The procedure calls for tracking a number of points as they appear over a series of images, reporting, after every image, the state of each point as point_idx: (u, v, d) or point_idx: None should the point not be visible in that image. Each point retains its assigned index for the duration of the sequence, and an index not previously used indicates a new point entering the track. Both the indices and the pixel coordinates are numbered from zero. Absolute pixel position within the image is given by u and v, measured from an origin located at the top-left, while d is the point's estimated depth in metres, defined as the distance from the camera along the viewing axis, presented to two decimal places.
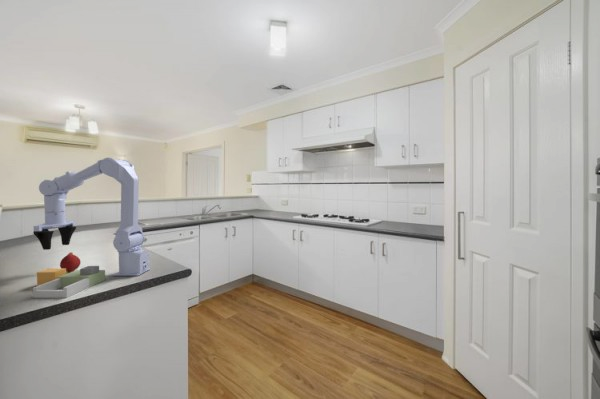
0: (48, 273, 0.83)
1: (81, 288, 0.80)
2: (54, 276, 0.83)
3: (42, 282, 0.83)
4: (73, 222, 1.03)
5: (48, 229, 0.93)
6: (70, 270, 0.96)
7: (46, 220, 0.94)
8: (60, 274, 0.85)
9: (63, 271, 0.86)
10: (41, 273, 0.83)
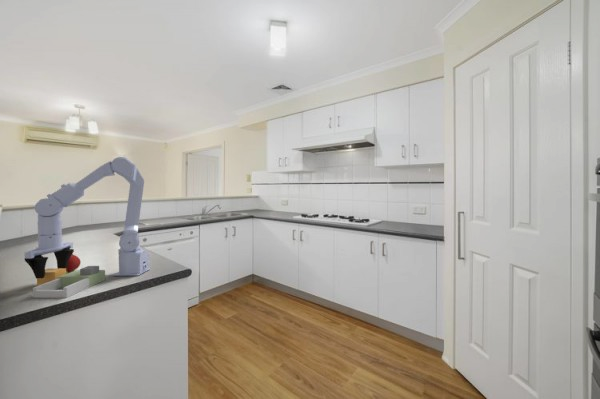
0: (48, 273, 0.83)
1: (81, 288, 0.80)
2: (54, 276, 0.83)
3: (42, 282, 0.83)
4: (71, 244, 0.91)
5: None
6: (70, 270, 0.96)
7: (39, 244, 0.82)
8: (60, 274, 0.85)
9: (63, 271, 0.86)
10: None
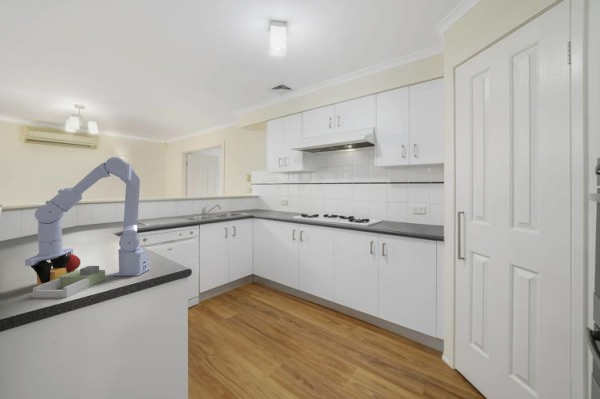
0: None
1: (81, 288, 0.80)
2: (54, 276, 0.83)
3: None
4: (71, 250, 0.92)
5: None
6: (70, 270, 0.96)
7: (40, 251, 0.82)
8: (60, 274, 0.85)
9: (63, 271, 0.86)
10: None
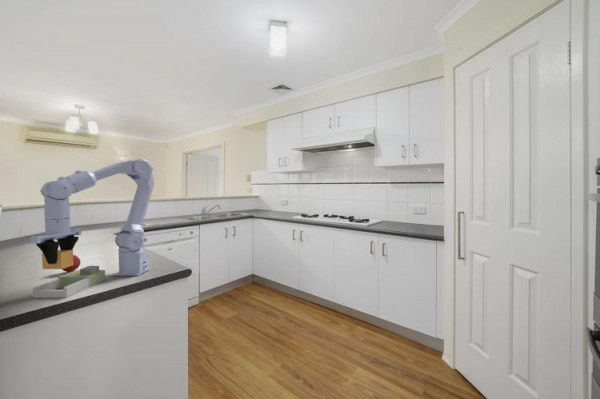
0: None
1: (81, 288, 0.80)
2: (60, 258, 0.78)
3: (48, 264, 0.78)
4: (79, 231, 0.86)
5: None
6: (70, 270, 0.96)
7: (46, 229, 0.77)
8: (66, 255, 0.80)
9: (70, 252, 0.81)
10: None
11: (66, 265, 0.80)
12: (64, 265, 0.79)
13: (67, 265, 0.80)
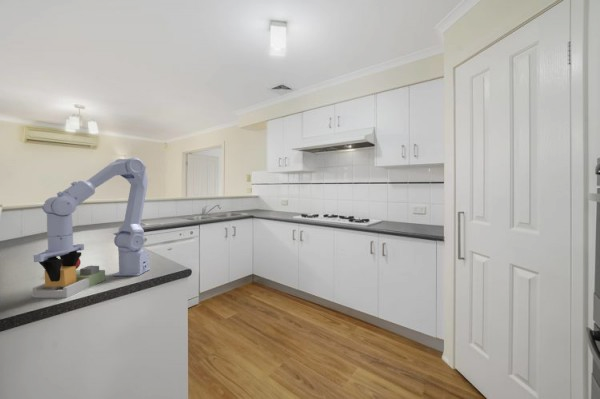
0: None
1: (81, 288, 0.80)
2: (63, 275, 0.77)
3: (50, 281, 0.77)
4: (82, 246, 0.85)
5: None
6: None
7: (49, 246, 0.76)
8: (69, 272, 0.79)
9: (73, 269, 0.80)
10: None
11: (69, 282, 0.79)
12: (67, 282, 0.78)
13: (70, 282, 0.79)
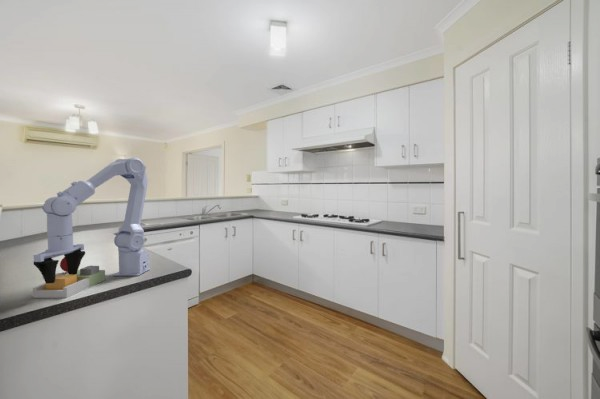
0: (58, 280, 0.77)
1: (81, 288, 0.80)
2: (64, 284, 0.77)
3: None
4: (82, 246, 0.85)
5: None
6: None
7: (49, 246, 0.76)
8: (70, 281, 0.79)
9: (73, 277, 0.80)
10: None
11: None
12: None
13: None
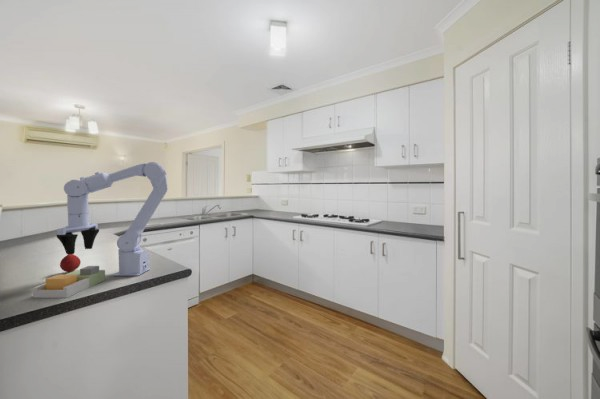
0: (58, 280, 0.77)
1: (81, 288, 0.80)
2: (64, 284, 0.77)
3: None
4: (96, 224, 0.97)
5: (72, 232, 0.88)
6: (70, 270, 0.96)
7: (69, 223, 0.88)
8: (70, 281, 0.79)
9: (73, 277, 0.80)
10: (50, 280, 0.77)
11: None
12: None
13: None
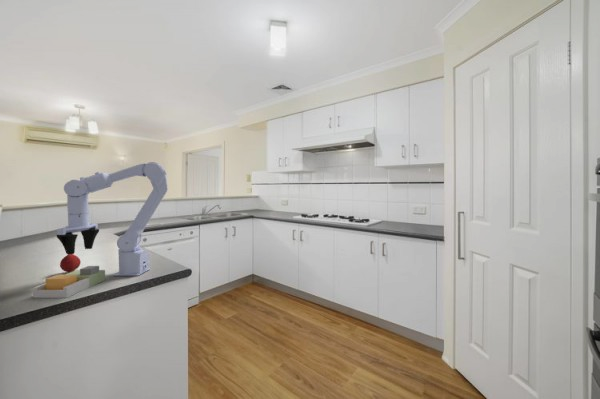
0: (58, 280, 0.77)
1: (81, 288, 0.80)
2: (64, 284, 0.77)
3: None
4: (96, 224, 0.97)
5: (72, 232, 0.88)
6: (70, 270, 0.96)
7: (69, 223, 0.88)
8: (70, 281, 0.79)
9: (73, 277, 0.80)
10: (50, 280, 0.77)
11: None
12: None
13: None
